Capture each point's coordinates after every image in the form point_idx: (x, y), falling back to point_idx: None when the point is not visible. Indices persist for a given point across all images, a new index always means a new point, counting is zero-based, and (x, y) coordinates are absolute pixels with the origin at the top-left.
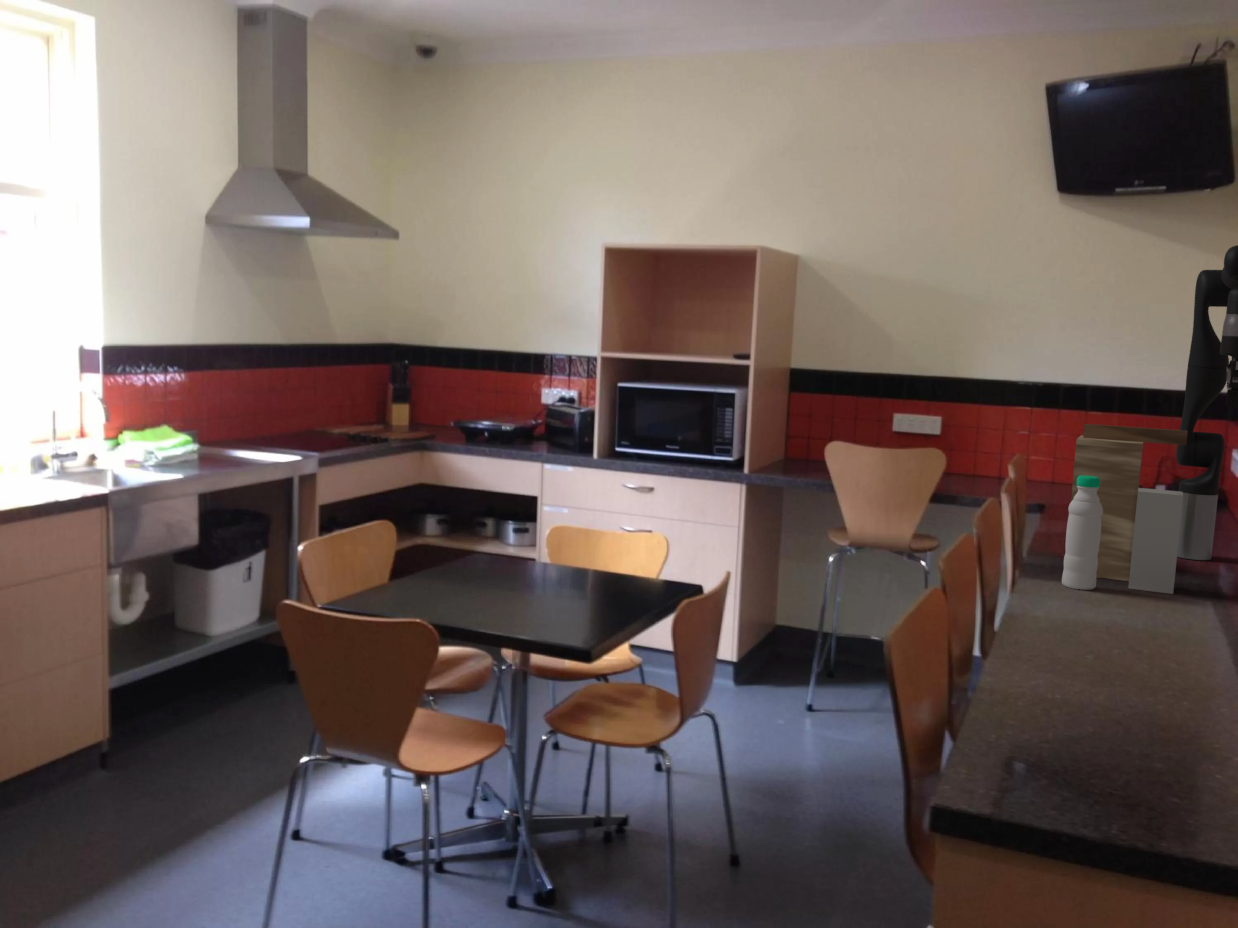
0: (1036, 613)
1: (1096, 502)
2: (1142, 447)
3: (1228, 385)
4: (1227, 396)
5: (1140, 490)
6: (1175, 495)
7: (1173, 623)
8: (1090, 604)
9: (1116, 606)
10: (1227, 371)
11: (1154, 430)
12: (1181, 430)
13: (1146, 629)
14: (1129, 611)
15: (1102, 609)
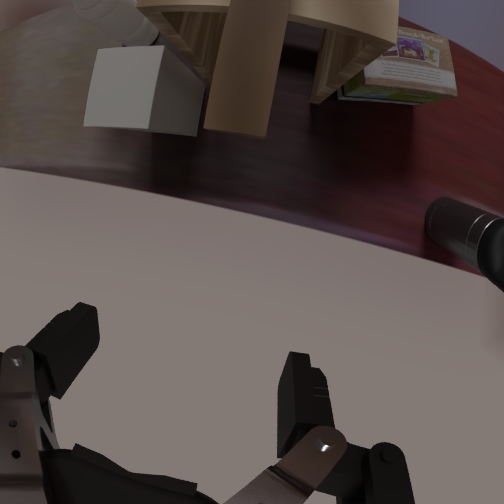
0: (27, 32)
1: (76, 8)
2: (177, 10)
3: (292, 448)
4: (292, 388)
5: (115, 51)
6: (86, 112)
7: (29, 128)
8: (65, 57)
9: (66, 78)
10: (33, 480)
11: (227, 15)
12: (254, 111)
13: (8, 110)
14: (52, 90)
15: (51, 69)
